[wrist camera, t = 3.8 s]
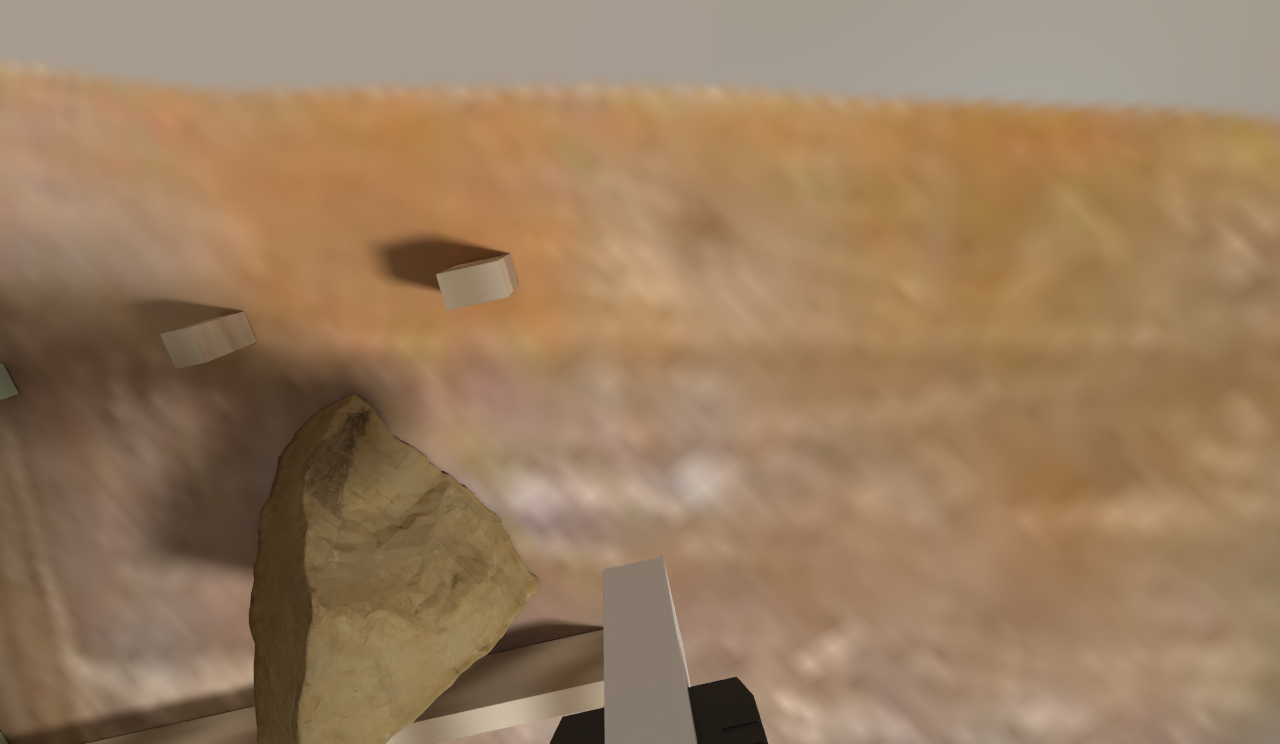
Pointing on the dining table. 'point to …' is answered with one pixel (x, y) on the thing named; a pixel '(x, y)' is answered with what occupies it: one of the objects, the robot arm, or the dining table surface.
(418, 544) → the rock
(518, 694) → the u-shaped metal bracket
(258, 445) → the dining table surface
